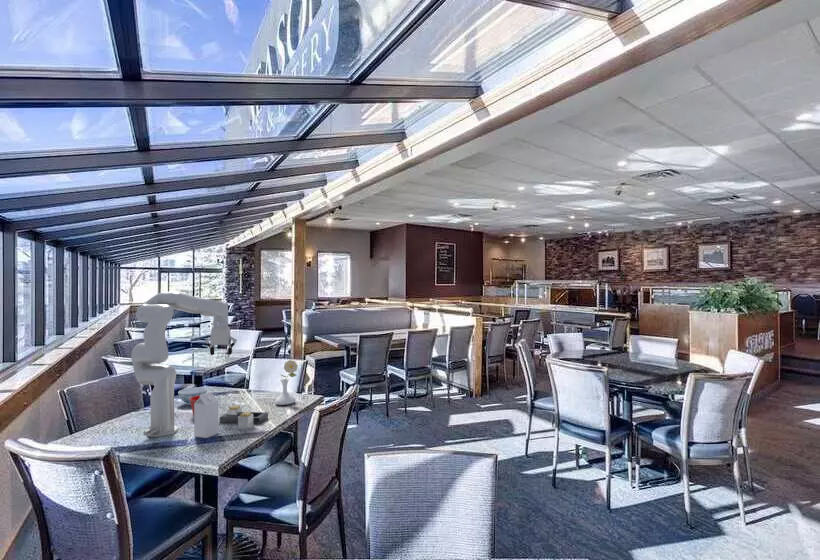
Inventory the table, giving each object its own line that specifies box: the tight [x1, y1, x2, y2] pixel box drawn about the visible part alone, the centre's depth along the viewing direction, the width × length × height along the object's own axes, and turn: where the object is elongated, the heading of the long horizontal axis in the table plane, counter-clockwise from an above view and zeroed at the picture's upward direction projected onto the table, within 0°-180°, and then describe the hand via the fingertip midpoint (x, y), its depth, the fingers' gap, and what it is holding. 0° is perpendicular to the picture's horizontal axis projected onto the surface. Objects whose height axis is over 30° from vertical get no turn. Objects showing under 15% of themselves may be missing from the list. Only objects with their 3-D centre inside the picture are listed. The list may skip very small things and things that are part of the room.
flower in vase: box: [274, 359, 299, 406], centre depth 242 cm, size 13×11×25 cm
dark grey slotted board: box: [219, 411, 269, 425], centre depth 212 cm, size 9×21×3 cm, turn 82°
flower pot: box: [190, 395, 200, 417], centre depth 222 cm, size 11×11×10 cm
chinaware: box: [177, 386, 208, 406], centre depth 245 cm, size 15×15×8 cm
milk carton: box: [193, 391, 220, 439], centre depth 192 cm, size 7×7×19 cm
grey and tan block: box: [237, 411, 254, 431], centre depth 201 cm, size 5×5×7 cm
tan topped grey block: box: [226, 405, 243, 416], centre depth 213 cm, size 5×5×7 cm
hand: (221, 354), depth 237 cm, fingers open, 9 cm apart
